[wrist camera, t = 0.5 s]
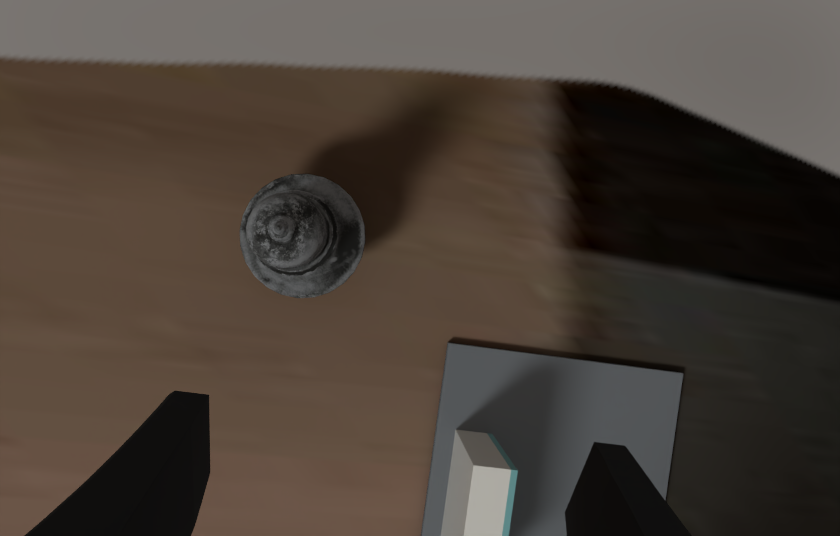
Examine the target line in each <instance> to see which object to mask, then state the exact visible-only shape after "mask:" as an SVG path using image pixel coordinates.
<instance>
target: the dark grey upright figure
mask: <svg viewBox="0 0 840 536" xmlns="http://www.w3.org/2000/svg"><path fill="white" fill-rule="evenodd" d="M364 245H365V226H364V222H363V219H362V216H361V213H360V210H359V208H358V207H357V205H356V204H355V202H354V200H353V199H352V197H351V196H350V195H349V194H348V193H347V192H346V191H345V190H344V189H342V188H341V187H340V186H339V185H338V184H336V183H334V182H332V181H330V180H328V179H326V178H324V177H320V176H316V175H311V174H291V175H288V176H285V177H281V178H278V179H275V180H274V181H272V182H271V183H269V184H267V185H266V186H264V187H263V188H261V189H260V191H259V192H258V193H257V194H256V195H255V196H254V197H253V198H252V199H251V200H250V202H249V204H248V206H247V208H246V210H245V212H244V214H243V218H242V222H241V227H240V246H241V250H242V253H243V256H244V259H245V262H246V264H247V265H248V267H249V268H250V270H251V271H252V273H253V274H254V276H255V277H256V278H257V279H258V280H259V281H261V282H262V283H263V284H264V285H265V286H266V287H268V288H270V289H272V290H274V291H276V292H277V293H279V294H281V295H286V296H291V297H295V298H308V297H316V296H319V295H323V294H326V293H329V292H331V291H332V290H334V289H336V288H337V287H339V286H340V285H342V284H343V283H344V282H345V281H346V280H347V279H348V278H349V277H350V276H351V275H352V274H353V272H354V271H355V269H356V267H357V265H358V264H359V262H360V260H361V258H362V254H363V249H364Z"/></svg>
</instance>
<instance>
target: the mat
mask: <svg viewBox="0 0 840 536" xmlns="http://www.w3.org/2000/svg"><path fill="white" fill-rule="evenodd" d="M682 379H683V373H680V372H674V371H666V370H658V369H651V368H643V367H635V366H627V365H620V364H612V363H604V362H596V361H589V360H581V359H573V358H566V357H558V356H550V355H542V354H535V353H527V352H519V351H511V350H504V349H496V348H488V347H481V346H473V345H465V344H457V343H450V342H448V344H447V351H446V359H445V366H444V373H443V380H442V387H441V395H440V402H439V409H438V416H437V423H436V431H435V438H434V445H433V452H432V459H431V467H430V474H429V481H428V488H427V495H426V503H425V510H424V517H423V524H422V531H421V536H441V530H442V523H443V516H444V509H445V502H446V494H447V487H448V480H449V473H450V466H451V459H452V451H453V444H454V437H455V430H464V431H472V432H481V433H489V434H493V435H494V437H495V438H496V440H497V441H498V443H499V444H500V446H501V447H502V448H503V450H504V451H505V453H506V454H507V456H508V457H509V458H510V460H511V461H512V463H513V464H514V466H515V467H516V469H517V470H518V473H517V480H516V487H515V494H514V502H513V509H512V516H511V523H510V530H509V536H567V532H566V521H565V510H566V508H567V506H568V503H569V501H570V498H571V496H572V494H573V491H574V489H575V486H576V484H577V482H578V479H579V477H580V474H581V472H582V470H583V467H584V465H585V463H586V460H587V458H588V455H589V453H590V451H591V448H592V446H593V443H594V442H599V443H608V444H616V445H624V446H626V447H627V449H628V450H629V451H630V453H631V454H632V455H633V457H634V458H635V460H636V461H637V462H638V464H639V465H640V466H641V468H642V469H643V471H644V472H645V473H646V475H647V476H648V478H649V479H650V480H651V482H652V483H653V484H654V486H655V487H656V489H657V490H658V491H659V493H660V494H661V496H662V497H663V498H664V500H666V493H667V486H668V479H669V472H670V464H671V457H672V450H673V443H674V436H675V429H676V422H677V415H678V408H679V401H680V394H681V387H682Z"/></svg>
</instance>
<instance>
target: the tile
mask: <svg viewBox="0 0 840 536" xmlns="http://www.w3.org/2000/svg"><path fill="white" fill-rule="evenodd" d="M517 473H518V470H517V469H516V467H515V466H514V464H513V463H512V461H511V460H510V458H509V457H508V456H507V454H506V453H505V451H504V450H503V448H502V447H501V446H500V444H499V443H498V441H497V440H496V438H495V437H494V435H493V434H489V433H481V432H472V431H464V430H455V437H454V444H453V451H452V459H451V466H450V473H449V480H448V487H447V494H446V502H445V509H444V516H443V523H442V530H441V536H509V530H510V523H511V516H512V509H513V502H514V494H515V487H516V480H517Z"/></svg>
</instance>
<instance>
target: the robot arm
mask: <svg viewBox="0 0 840 536" xmlns="http://www.w3.org/2000/svg"><path fill="white" fill-rule="evenodd" d="M209 474H210V431H209V395H206V394H198V393H189V392H181V391H174V392H172V393H171V394H169V395H168V396H167V397H166V398H165V400H164V401H163V402H162V403H161V404H160V405H159V406H158V408H157V409H156V410H155V411H154V412H153V413H152V414H151V415H150V416H149V418H148V419H147V420H146V421H145V422H144V423H143V424H142V425H141V426H140V427H139V428H138V429H137V430H136V432H135V433H134V434H133V435H132V436H131V437H130V438H129V439H128V440H127V441H126V442H125V443H124V444H123V445H122V446H121V447H120V448H119V449H118V450H117V451H116V452H115V453H114V454H113V455H112V456H111V457H110V458H109V459H108V460H107V461H106V462H105V463H104V464H103V465H102V466H101V467H100V468H99V469H98V470H97V471H96V472H95V473H94V474H93V475H92V476H91V477H90V478H89V479H88V480H87V481H86V482H85V483H83V484H82V485H81V486H80V487H79V488H78V489H77V490H76V491H75V492H74V493H72V494H71V495H70V496H69V497H68V498H67V499H66V500H65V501H64V502H62V503H61V504H60V505H59V506H58V507H57V508H56V509H55V510H54V511H52V512H51V513H50V514H49V515H48V516H47V517H46V518H45V519H43V520H42V521H41V522H40V523H39V524H38V525H36V526H35V527H34V528H33V529H32V530H31V531H29V532H28V533H27V534H26V535H25V536H191V534H192V531H193V529H194V526H195V523H196V520H197V516H198V513H199V510H200V506H201V503H202V499H203V496H204V492H205V489H206V485H207V482H208V478H209ZM565 521H566V532H567V536H691V534H690V533H689V532H688V530H687V529H686V528H685V527H684V525H683V524H682V523H681V521H680V520H679V519H678V517H677V516H676V515H675V513H674V512H673V511H672V509H671V508H670V506H669V505H668V504H667V502H666V501H665V500H664V498H663V497H662V496H661V494H660V493H659V491H658V490H657V489H656V487H655V486H654V484H653V483H652V482H651V480H650V479H649V478H648V476H647V475H646V473H645V472H644V471H643V469H642V468H641V466H640V465H639V464H638V462H637V461H636V460H635V458H634V457H633V455H632V454H631V453H630V451H629V450H628V449H627V447H626V446H624V445H616V444H608V443H599V442H594V443H593V446H592V448H591V451H590V453H589V455H588V458H587V460H586V463H585V465H584V467H583V470H582V472H581V474H580V477H579V479H578V482H577V484H576V486H575V489H574V491H573V494H572V496H571V498H570V501H569V503H568V506H567V508H566V510H565Z"/></svg>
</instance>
